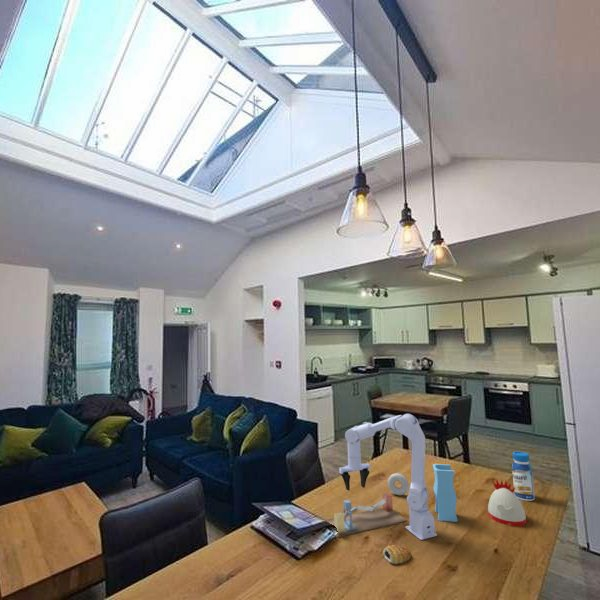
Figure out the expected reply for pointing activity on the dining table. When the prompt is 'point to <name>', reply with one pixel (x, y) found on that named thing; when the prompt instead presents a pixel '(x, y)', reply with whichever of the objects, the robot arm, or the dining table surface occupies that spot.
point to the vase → (445, 493)
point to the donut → (400, 478)
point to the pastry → (396, 554)
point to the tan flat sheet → (371, 521)
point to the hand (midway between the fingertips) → (355, 488)
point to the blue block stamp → (348, 524)
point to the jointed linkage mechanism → (340, 517)
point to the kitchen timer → (506, 506)
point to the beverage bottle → (522, 476)
